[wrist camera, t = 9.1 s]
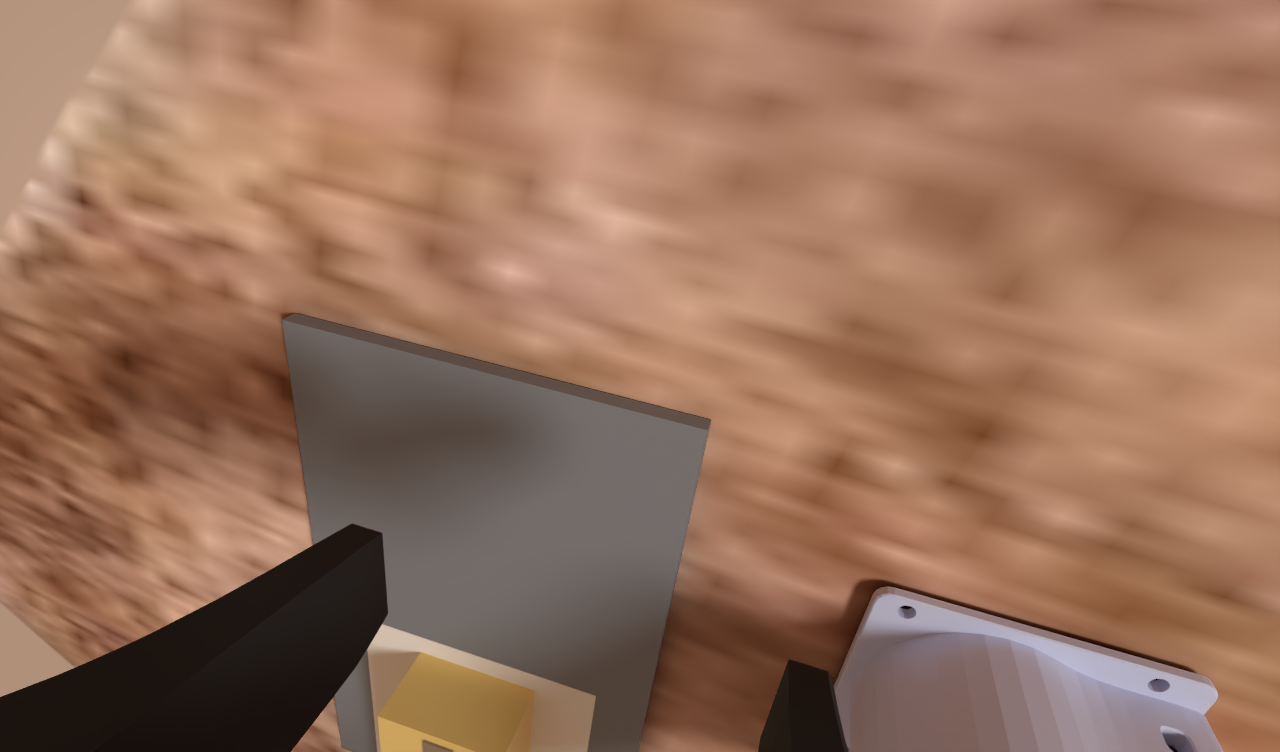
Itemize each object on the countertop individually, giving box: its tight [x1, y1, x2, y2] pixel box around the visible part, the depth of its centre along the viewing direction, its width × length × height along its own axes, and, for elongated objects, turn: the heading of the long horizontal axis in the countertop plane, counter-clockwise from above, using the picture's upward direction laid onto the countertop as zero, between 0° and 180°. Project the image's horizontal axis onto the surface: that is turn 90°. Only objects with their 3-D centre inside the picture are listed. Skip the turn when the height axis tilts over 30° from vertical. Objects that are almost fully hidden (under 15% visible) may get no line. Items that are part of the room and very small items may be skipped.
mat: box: [282, 313, 711, 752], centre depth 26 cm, size 14×23×1 cm, turn 172°
